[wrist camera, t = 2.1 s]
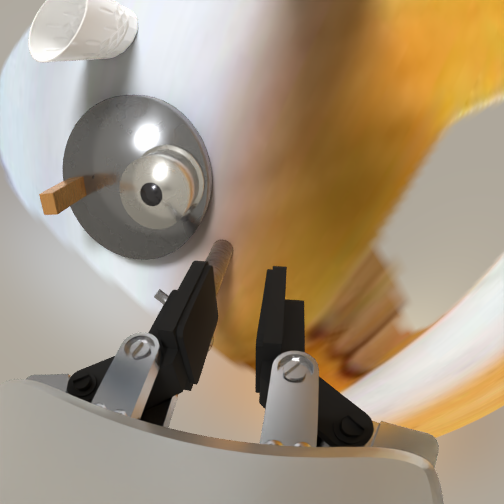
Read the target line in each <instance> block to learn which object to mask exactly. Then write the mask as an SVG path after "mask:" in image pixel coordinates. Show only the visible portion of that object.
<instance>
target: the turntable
mask: <svg viewBox="0 0 504 504" xmlns="http://www.w3.org/2000/svg"><path fill="white" fill-rule="evenodd" d="M164 144H172V145H177V146H180V147H182V148H184V149H186V150H188V151H189V152H190V153H191V154H193V156H194V157H195V158H196V159H197V160H198V162H199V163H200V165H201V167H202V170H203V173H204V178H205V189H204V193H203V196H202V199H201V200H200V202H199V204H198V205H197V206H196V207H195V208H194V209H193V210H192V211H191V212H190V213H188V214H187V215H185V216H182V217H181V218H180V220H179V221H178V222H176V223H175V224H174V225H172V226H170V227H168V228H165V229H151V228H147V227H144V226H142V225H140V224H139V223H137V222H136V221H135V220H133V219H132V218H131V217H130V215H129V214H128V213H127V211H126V210H125V208H124V206H123V204H122V201H121V197H120V191H119V189H120V180H121V177H122V174H123V172H124V170H125V169H126V168H127V166H128V165H129V164H130V163H132V162H133V161H135V160H137V159H139V158H140V157H141V156H142V155H143V154H144V153H145V152H146V151H148V150H149V149H151V148H154V147H156V146H159V145H164ZM211 189H212V174H211V165H210V161H209V157H208V153H207V150H206V147H205V145H204V142H203V140H202V138H201V137H200V135H199V133H198V131H197V130H196V128H195V127H194V126H193V124H192V123H191V122H190V120H189V119H188V118H187V117H186V116H185V115H184V114H183V113H182V112H180V111H179V110H178V109H176V108H175V107H174V106H172V105H170V104H169V103H167V102H165V101H163V100H160V99H157V98H155V97H150V96H145V95H124V96H117V97H113V98H109V99H106V100H104V101H102V102H100V103H98V104H96V105H95V106H93V107H92V108H91V109H89V110H88V111H87V112H86V113H85V114H84V115H83V116H82V117H81V118H80V120H79V121H78V122H77V124H76V125H75V127H74V129H73V130H72V132H71V134H70V136H69V139H68V141H67V145H66V148H65V153H64V158H63V182H61V183H59V184H57V185H55V186H53V187H51V188H50V189H48V190H46V191H44V192H42V193H41V194H39V195H40V199H41V204H42V208H43V211H44V215H52V214H59V213H60V212H62V211H63V210H65V209H66V208H68V207H69V206H70V207H71V209H72V211H73V213H74V215H75V216H76V218H77V220H78V221H79V223H80V224H81V226H82V227H83V228H84V229H85V231H86V232H87V233H88V234H89V235H90V236H91V237H92V238H93V239H94V240H95V241H97V242H98V243H99V244H101V245H102V246H103V247H105V248H106V249H108V250H110V251H112V252H114V253H116V254H119V255H121V256H124V257H128V258H133V259H154V258H159V257H162V256H165V255H167V254H170V253H172V252H173V251H175V250H177V249H178V248H180V247H181V246H182V245H183V244H184V243H185V242H187V240H188V239H189V238H190V237H191V236H192V234H193V233H194V232H195V230H196V229H197V227H198V226H199V224H200V222H201V221H202V219H203V217H204V215H205V213H206V210H207V208H208V204H209V201H210V196H211Z"/></svg>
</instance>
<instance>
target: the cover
mask: <svg viewBox="0 0 504 504" xmlns="http://www.w3.org/2000/svg"><path fill="white" fill-rule="evenodd" d="M204 189H205V178H204V173H203V170H202V167H201V165H200V163H199V162H198V160H197V159H196V158H195V157H194V156H193V154H191V153H190V152H189V151H188V150H186V149H184V148H182V147H180V146H177V145H172V144H164V145H159V146H156V147H154V148H151V149H149V150H148V151H146V152H145V153H144V154H143V155H142V156H141V157H140V158H139V159H137V160H135V161H133V162H132V163H130V164H129V165H128V166H127V168H126V169H125V170H124V172H123V174H122V177H121V180H120V189H119V191H120V197H121V201H122V204H123V206H124V208H125V210H126V211H127V213H128V214H129V215H130V217H131V218H132V219H133V220H135V221H136V222H137V223H139V224H140V225H142V226H144V227H147V228H151V229H165V228H168V227H170V226H172V225H174V224H175V223H176V222H178V221H179V220H180V218H181V217H182V216H185V215H187V214H188V213H190V212H191V211H192V210H193V209H194V208H195V207H196V206H197V205H198V204H199V202H200V200H201V199H202V196H203V193H204Z"/></svg>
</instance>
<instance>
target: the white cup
mask: <svg viewBox="0 0 504 504" xmlns="http://www.w3.org/2000/svg"><path fill="white" fill-rule="evenodd" d="M137 31H138V19H137V17H136V15H135V14H134V12H133V11H132V10H130V9H128V8H126V7H124V6H122V5H120V4H119V3H118V2H116V1H114V0H46V2H45V3H44V4H43V5H42V6H41V8H40V9H39V11H38V13H37V14H36V16H35V18H34V20H33V23H32V26H31V29H30V33H29V41H28V44H29V51H30V54H31V56H32V57H33V58H34V59H35V60H36V61H38V62H41V63H45V62H57V61H76V60H94V59H109V58H114V57H116V56H118V55H119V54H121V53H123V52H124V51H125V50H126V49H127V48H128V47H129V46H130V44H131V43H132V42H133V40H134V38H135V35H136V33H137Z"/></svg>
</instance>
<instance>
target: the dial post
mask: <svg viewBox="0 0 504 504" xmlns="http://www.w3.org/2000/svg"><path fill="white" fill-rule="evenodd" d="M232 253H233V247H232V245H231V244H230V243H229V242H228V241H226V240H218V241H216V242H215V243H214V245H213V247H212V249H211V251H210V253H209V255H208V257H207V259H206V261H205V262H208V263H209V265H212V266H213V271H214V281H215V291H216V296H217V293H218V291H219V288H220V285H221V283H222V280H223V277H224V274H225V272H226V269H227V266H228V264H229V261H230V258H231V256H232ZM154 297H155V298H156V299H157V300H159V301H160V302H161V303H162V304H165V302H166V300H167V298H168V295H167V294H165V293H164V292H163V291H161V290H159V291H158V292H157V293H156V295H155V296H154ZM212 345H213V337H212V340H211V343H210V346H209V350H210V349H211V347H212ZM209 350H208V351H209Z"/></svg>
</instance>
